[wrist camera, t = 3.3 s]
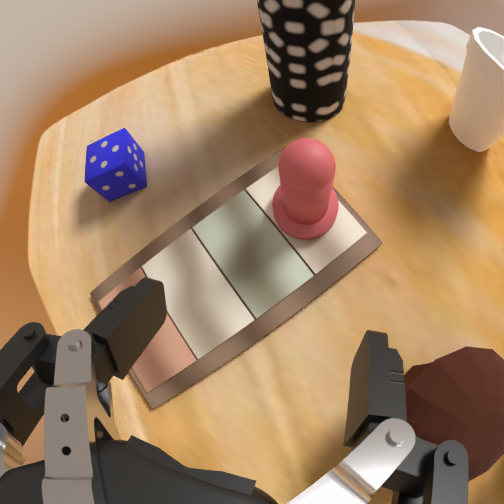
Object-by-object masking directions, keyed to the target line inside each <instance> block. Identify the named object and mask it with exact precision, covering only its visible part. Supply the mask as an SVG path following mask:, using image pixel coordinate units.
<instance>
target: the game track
mask: <svg viewBox="0 0 504 504" xmlns="http://www.w3.org/2000/svg"><path fill="white" fill-rule="evenodd" d="M284 148H285V147H284ZM284 148H283V149H284ZM283 149H281V150H279V151H278V152H276V153H275V154H273V155H272V156H270V157H269V158H267V159H266V160H264V161H263V162H261V163H260V164H258V165H257V166H255V167H254V168H252V169H251V170H249V171H248V172H247V173H245V174H244V175H242V176H241V177H239V178H238V179H236V180H235V181H234V182H232V183H231V184H229V185H228V186H226V187H225V188H224V189H222V190H221V191H219V192H218V193H217V194H215V195H214V196H212V197H211V198H210V199H208V200H207V201H205V202H204V203H203V204H201V205H200V206H199V207H197V208H196V209H195V210H193V211H192V212H191V213H189V214H188V215H186V216H185V217H184V218H182V219H181V220H180V221H178V222H177V223H176V224H175V225H173V226H172V227H171V228H169V229H168V230H167V231H165V232H164V233H163V234H162V235H160V236H159V237H158V238H156V239H155V240H154V241H153V242H151V243H150V244H149V245H147V246H146V247H145V248H144V249H142V250H141V251H140V252H139V253H137V254H136V255H135V256H134V257H132V258H131V259H130V260H129V261H128V262H126V263H125V264H124V265H123V266H121V267H120V268H119V269H118V270H117V271H115V272H114V273H113V274H112V275H111V276H109V277H108V278H107V279H106V280H105V281H104V282H102V283H101V284H100V285H99V286H98V287H96V288H95V289H94V290H93V291H92V292H91V293H90V294H91V297H92V299H93V301H94V303H95V305H96V308H97V310H98V312H99V313H100V312H101V311H102V310H103V309H104V308H105V307H107V305H108V304H109V303H110V302H111V301H113V299H114V298H115V297H116V296H117V295H118V294H119V293H120V292H121V291H122V290H124V289H126V288H128V287H130V286H135V285H136V284H137V283H138V282H139V281H140V280H141V279H142V278H144V277H148V278H151V279H155V280H158V281H161V282H163V285H164V291H165V299H166V306H167V316H166V320H165V322H164V324H163V325H162V327H161V328H160V329H159V331H158V332H157V334H156V335H155V336H154V338H153V339H152V340H151V342H150V343H149V344H148V346H147V347H146V349H145V350H144V351H143V353H142V354H141V355H140V357H139V358H138V360H137V361H136V362H135V364H134V365H133V366H132V368H131V369H130V371H129V372H130V373H131V375H132V377H133V379H134V380H135V382H136V384H137V385H138V387H139V389H140V390H141V392H142V393H143V395H144V397H145V398H146V400H147V401H148V403H149V405H150V406H151V408H152V409H154V408H156V407H158V406H159V405H161V404H163V403H164V402H166V401H168V400H169V399H171V398H173V397H174V396H176V395H177V394H179V393H181V392H182V391H184V390H185V389H187V388H189V387H190V386H192V385H193V384H195V383H197V382H198V381H200V380H201V379H203V378H204V377H206V376H207V375H209V374H210V373H212V372H213V371H215V370H216V369H218V368H219V367H221V366H222V365H224V364H225V363H227V362H228V361H230V360H231V359H233V358H234V357H236V356H237V355H239V354H240V353H242V352H243V351H244V350H246V349H247V348H249V347H250V346H252V345H253V344H254V343H256V342H257V341H259V340H260V339H261V338H263V337H264V336H266V335H267V334H268V333H270V332H271V331H273V330H274V329H275V328H277V327H278V326H279V325H281V324H282V323H284V322H285V321H286V320H288V319H289V318H290V317H292V316H293V315H294V314H296V313H297V312H298V311H300V310H301V309H302V308H303V307H305V306H306V305H307V304H309V303H310V302H311V301H313V300H314V299H315V298H316V297H318V296H319V295H320V294H322V293H323V292H324V291H325V290H327V289H328V288H329V287H330V286H332V285H333V284H334V283H335V282H337V281H338V280H339V279H340V278H342V277H343V276H344V275H345V274H346V273H348V272H349V271H350V270H351V269H353V268H354V267H355V266H356V265H357V264H359V263H360V262H361V261H362V260H363V259H365V258H366V257H367V256H368V255H369V254H370V253H372V252H373V251H374V250H375V249H376V248H377V247H379V246H380V245H381V244H382V241H381V240H380V239H379V238H378V237H377V235H376V234H375V233H374V232H373V231H372V230H371V228H370V227H369V226H368V225H367V224H366V223H365V222H364V220H363V219H362V218H361V217H360V216H359V215H358V214H357V212H356V211H355V210H354V209H353V208H352V207H351V206H350V205H349V204H348V203H347V201H346V200H345V199H344V198H343V197H342V196H341V195H340V194H339V193H338V192H337V191H336V190H335V189H334V187H333V186H332V188H333V189H334V191H335V193H336V195H337V198H338V203H339V208H338V213H337V217H336V220H335V222H334V225H333V226H332V228H331V229H330V230H329V231H328V232H327V233H325V234H324V235H322V236H320V237H318V238H315V239H310V240H302V239H297V238H294V237H291V236H289V235H288V234H286V233H285V232H284V231H283V230H282V229H281V228H280V227H279V226H278V224H277V222H276V220H275V217H274V213H273V207H272V201H273V196H274V194H275V191H276V190H277V188H278V187H279V186H280V185H281V184H280V176H279V168H278V163H279V158H280V155H281V153H282V151H283Z"/></svg>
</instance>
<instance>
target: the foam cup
mask: <svg viewBox="0 0 504 504" xmlns="http://www.w3.org/2000/svg"><path fill="white" fill-rule="evenodd" d="M466 47H467V54H466V58H465V63H464V67H463V70H462V74H461V78H460V82H459V85H458V89H457V92H456V96H455V99H454V102H453V105H452V108H451V112H450V115H449V125H450V128H451V130H452V133H453V134H454V135H455V136H456V137H457V139H458V140H459V141H460V142H461V143H462V144H464V145H465V146H466V147H468V148H469V149H472V150H474V151H477V152H482V151H486V150H487V149H489V148H490V147H491V146H492V145H493V144H495V143H496V142H497V141H498V140H499V139H500V138H501V137H503V136H504V37H503V36H501V35H499V34H497V33H495V32H493V31H492V30H488V29H484V28H480V27H478V28H476V29H474V30H473V31H472V33H471V36H470V38H469V41H468V43H467V46H466Z"/></svg>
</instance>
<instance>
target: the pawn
mask: <svg viewBox="0 0 504 504" xmlns="http://www.w3.org/2000/svg"><path fill="white" fill-rule="evenodd" d="M278 168H279V176H280V184H281V185H280V186H279V187H278V188H277V190H276V191H275V194H274V196H273V201H272V207H273V213H274V217H275V220H276V222H277V224H278V226H279V227H280V228H281V229H282V230H283V231H284V232H285V233H286V234H288V235H289V236H291V237H294V238H297V239H302V240H310V239H315V238H318V237H320V236H322V235H324V234H325V233H327V232H328V231H329V230H330V229H331V228H332V226H333V225H334V222H335V220H336V217H337V213H338V208H339V203H338V198H337V195H336V193H335V191H334V189H333V188H332V186H333V180H334V175H335V169H336V165H335V159H334V156H333V154H332V152H331V151H330V149H329V148H328V147H327V146H326V145H325V144H323V143H322V142H320V141H318V140H316V139H312V138H300V139H297V140H294V141H292V142H291V143H289V144H288V145H287V146H286V147H285V148H284V149H283V151H282V153H281V155H280V158H279V163H278Z"/></svg>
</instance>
